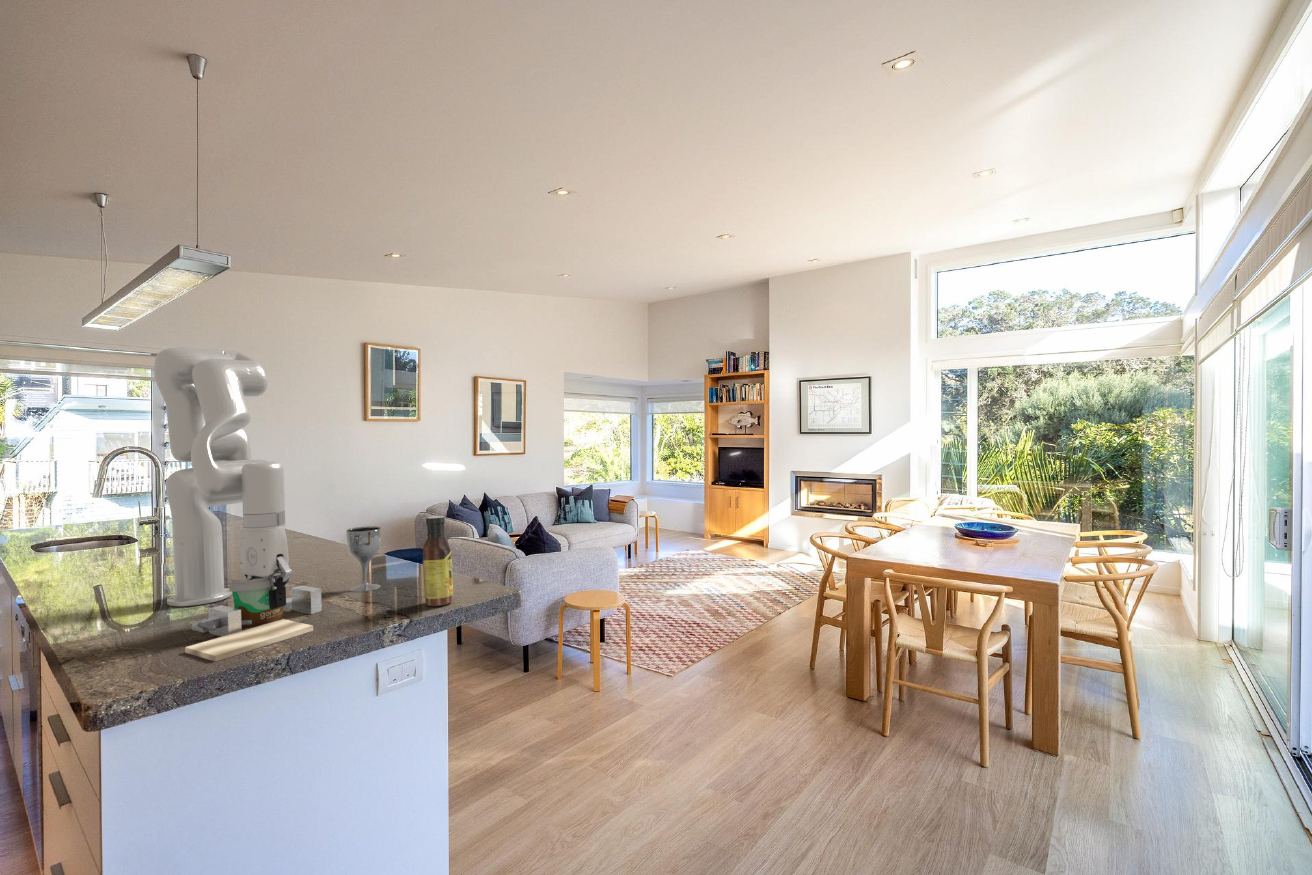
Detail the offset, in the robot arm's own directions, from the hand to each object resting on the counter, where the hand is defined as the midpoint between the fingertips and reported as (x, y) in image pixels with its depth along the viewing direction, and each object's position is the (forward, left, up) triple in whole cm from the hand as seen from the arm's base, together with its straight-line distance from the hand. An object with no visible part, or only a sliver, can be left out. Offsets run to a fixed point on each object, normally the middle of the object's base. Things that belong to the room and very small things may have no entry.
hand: (267, 604), depth 132 cm
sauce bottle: (+23, +25, -4) cm, 34 cm away
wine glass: (-5, +27, -4) cm, 28 cm away
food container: (0, 0, -4) cm, 4 cm away
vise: (-3, -1, -4) cm, 5 cm away
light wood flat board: (+10, -9, -4) cm, 13 cm away
